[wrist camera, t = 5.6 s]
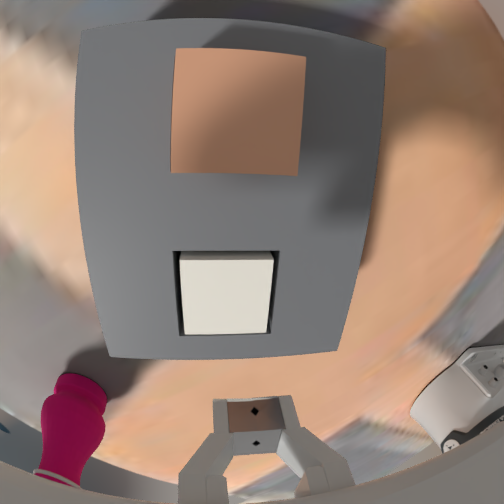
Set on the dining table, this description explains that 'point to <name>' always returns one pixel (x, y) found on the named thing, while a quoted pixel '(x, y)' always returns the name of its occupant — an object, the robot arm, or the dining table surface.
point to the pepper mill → (71, 428)
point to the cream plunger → (225, 291)
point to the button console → (222, 188)
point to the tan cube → (236, 111)
